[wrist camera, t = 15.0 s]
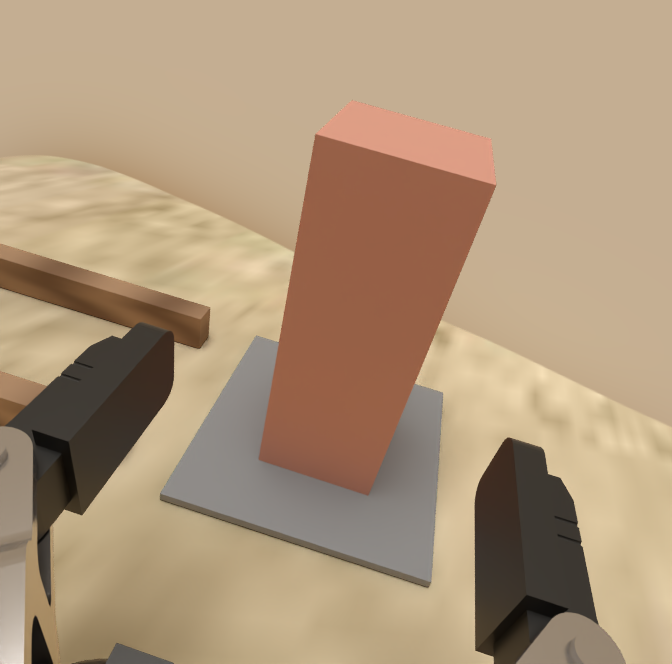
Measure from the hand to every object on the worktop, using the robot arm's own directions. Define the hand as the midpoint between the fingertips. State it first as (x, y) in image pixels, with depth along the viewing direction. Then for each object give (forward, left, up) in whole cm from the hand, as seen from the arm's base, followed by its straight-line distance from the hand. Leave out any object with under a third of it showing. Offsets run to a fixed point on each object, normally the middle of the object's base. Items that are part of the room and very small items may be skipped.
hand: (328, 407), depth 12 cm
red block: (0, -8, -9) cm, 12 cm away
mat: (0, -8, -10) cm, 13 cm away
